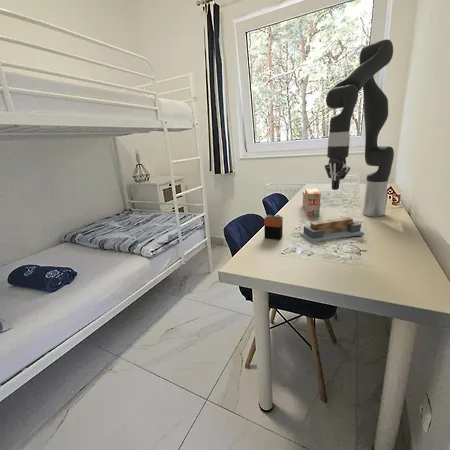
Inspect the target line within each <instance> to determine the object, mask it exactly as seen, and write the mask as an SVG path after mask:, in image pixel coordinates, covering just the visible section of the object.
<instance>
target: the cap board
mask: <svg viewBox="0 0 450 450" xmlns="http://www.w3.org/2000/svg"><path fill="white" fill-rule="evenodd" d="M310 227H311V224H310V225H304V226H303V231H301V232H300V236H302V237H303V238H305V239H306V240H307V241H310V242H311V243H314V242H320V241H321V242H322V241H327V240H332V239H333V240H334V239H340V238H346V237H351V236H357V235H359V236H360V235H364V231H363V230H361V228H362V224H361V223H358V222H356V221H354V220H353V224H352V225H349V231H343V232H337V233H330V234H324V235H323V230H322V229H318V230H314V229H312V228H310Z"/></svg>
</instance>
